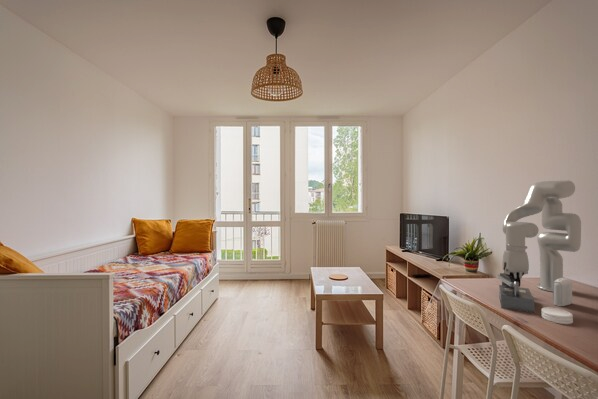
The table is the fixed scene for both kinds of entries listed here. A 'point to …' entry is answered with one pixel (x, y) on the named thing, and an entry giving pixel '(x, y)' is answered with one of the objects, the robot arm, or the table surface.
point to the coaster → (557, 315)
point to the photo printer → (562, 292)
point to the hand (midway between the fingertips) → (516, 285)
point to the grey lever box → (516, 298)
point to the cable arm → (506, 279)
